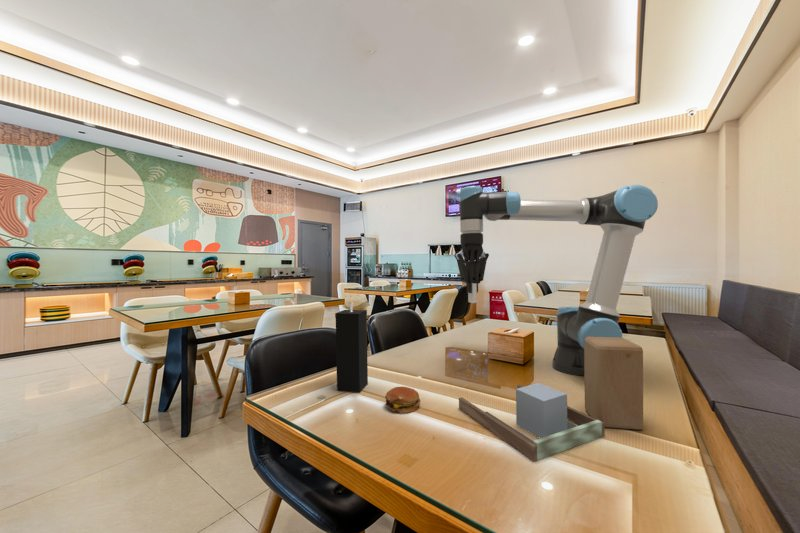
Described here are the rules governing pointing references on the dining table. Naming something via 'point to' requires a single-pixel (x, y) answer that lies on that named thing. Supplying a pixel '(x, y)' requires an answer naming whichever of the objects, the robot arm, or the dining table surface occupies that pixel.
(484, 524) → the dining table surface
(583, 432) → the u-shaped frame
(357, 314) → the black tall block
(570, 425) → the pads
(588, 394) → the wooden block
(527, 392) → the slate block
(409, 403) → the burger
